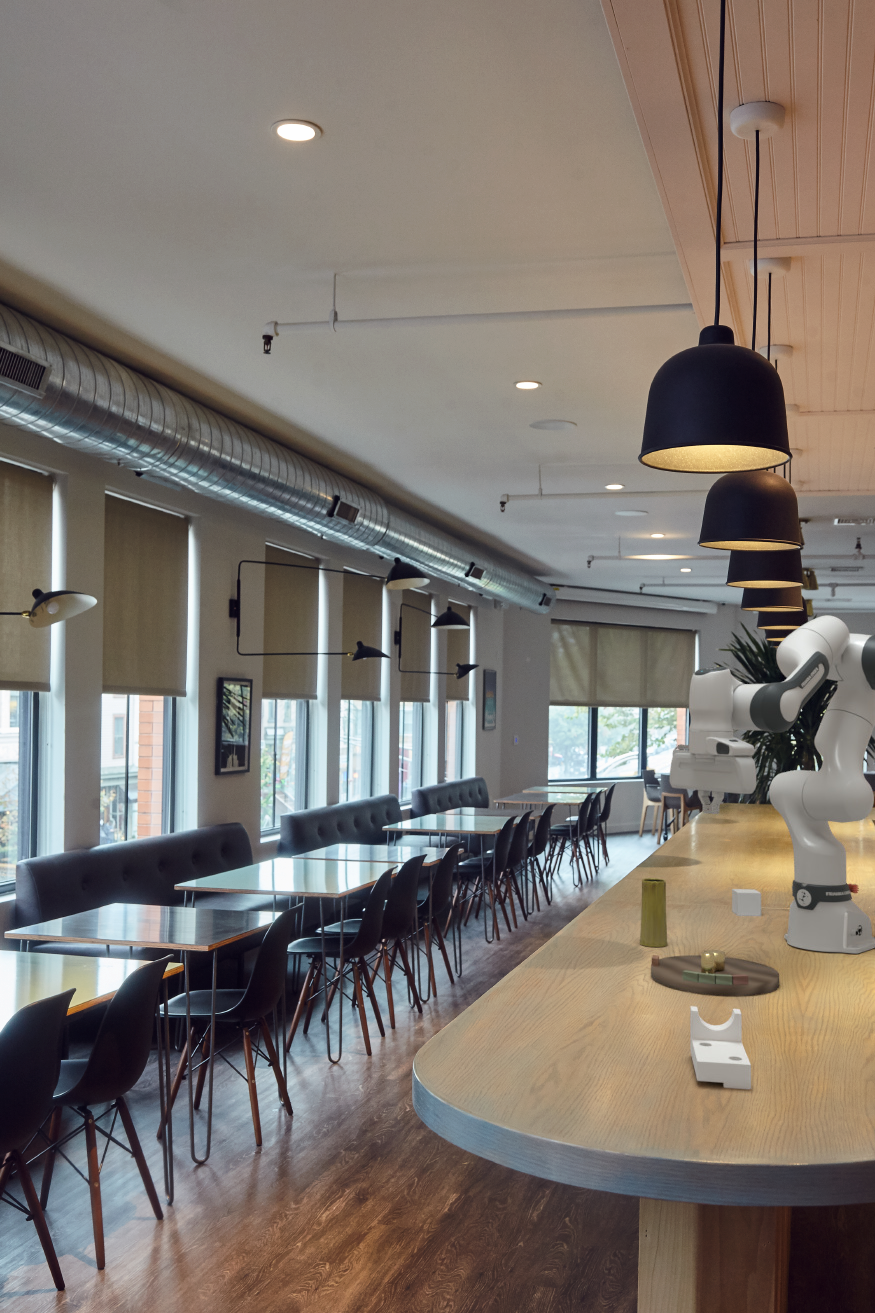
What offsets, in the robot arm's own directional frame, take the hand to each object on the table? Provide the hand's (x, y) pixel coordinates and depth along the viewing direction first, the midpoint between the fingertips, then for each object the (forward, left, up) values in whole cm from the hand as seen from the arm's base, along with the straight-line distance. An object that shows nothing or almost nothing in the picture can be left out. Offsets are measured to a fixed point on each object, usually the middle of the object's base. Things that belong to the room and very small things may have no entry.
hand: (711, 813), depth 214 cm
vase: (-6, -22, -31) cm, 39 cm away
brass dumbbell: (+10, +9, -29) cm, 32 cm away
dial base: (+7, +7, -31) cm, 33 cm away
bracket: (+48, +44, -32) cm, 72 cm away
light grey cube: (-55, -37, -31) cm, 73 cm away
